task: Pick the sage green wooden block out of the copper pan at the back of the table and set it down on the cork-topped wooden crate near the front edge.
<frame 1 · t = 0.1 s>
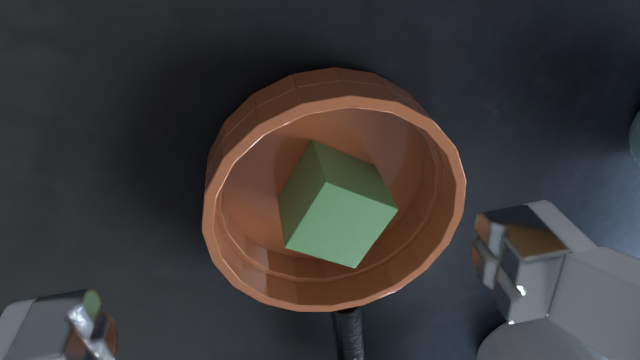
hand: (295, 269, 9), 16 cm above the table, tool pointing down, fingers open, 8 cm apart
block: (326, 182, 27), point 1 cm above the table, touching pan
pan handle: (350, 348, 31), point 3 cm above the table
pan: (324, 176, 27), on the table
potted plant: (524, 337, 41), on the table
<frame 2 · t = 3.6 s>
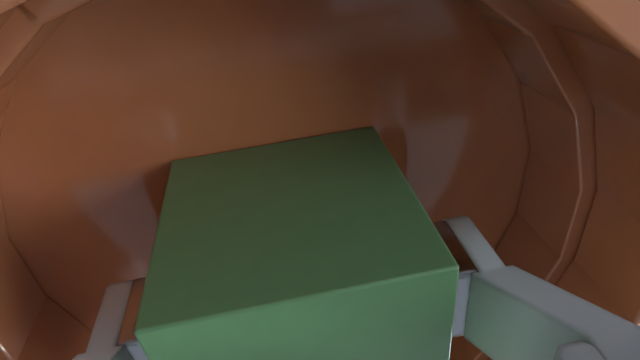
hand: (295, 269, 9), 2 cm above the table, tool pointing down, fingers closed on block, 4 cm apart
block: (289, 221, 11), point 1 cm above the table, touching gripper, pan
pan: (285, 206, 11), on the table
when the fingers open (13 cm above the table, at t = 10.7 s): block stays where it is, resting on crate.
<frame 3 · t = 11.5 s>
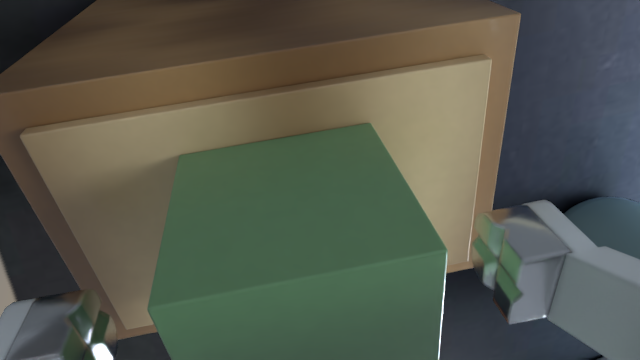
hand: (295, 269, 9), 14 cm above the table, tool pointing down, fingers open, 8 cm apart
block: (290, 213, 11), point 12 cm above the table, touching crate
crate: (287, 211, 11), on the table
cup: (579, 222, 31), on the table
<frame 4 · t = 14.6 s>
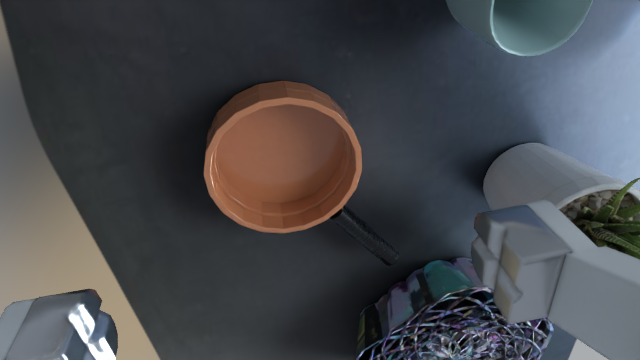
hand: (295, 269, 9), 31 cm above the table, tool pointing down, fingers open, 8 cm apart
pan handle: (365, 235, 47), point 4 cm above the table
pan: (280, 148, 43), on the table
decorative bowl: (427, 312, 62), on the table
potted plant: (520, 169, 50), on the table
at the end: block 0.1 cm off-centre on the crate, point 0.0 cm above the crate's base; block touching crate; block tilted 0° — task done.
